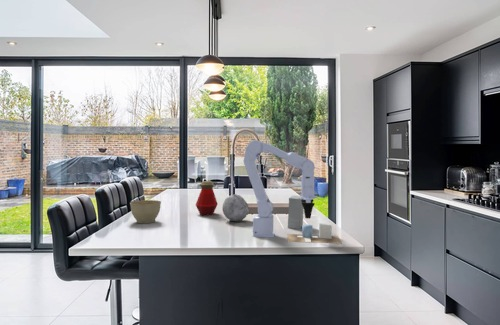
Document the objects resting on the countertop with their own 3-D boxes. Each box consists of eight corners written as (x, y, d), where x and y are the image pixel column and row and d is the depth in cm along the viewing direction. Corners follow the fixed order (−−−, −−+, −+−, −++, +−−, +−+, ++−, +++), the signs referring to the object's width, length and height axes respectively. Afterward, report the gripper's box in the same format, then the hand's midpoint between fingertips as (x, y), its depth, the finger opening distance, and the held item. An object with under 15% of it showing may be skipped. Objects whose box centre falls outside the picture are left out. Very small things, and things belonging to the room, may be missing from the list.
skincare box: (290, 225, 187) (291, 195, 187) (304, 226, 185) (304, 195, 184) (287, 228, 179) (287, 197, 179) (301, 229, 177) (301, 198, 176)
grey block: (319, 238, 158) (320, 224, 158) (319, 235, 163) (319, 222, 163) (331, 238, 158) (331, 225, 158) (330, 236, 163) (330, 222, 163)
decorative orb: (253, 222, 194) (253, 195, 194) (228, 224, 188) (228, 196, 188) (241, 217, 208) (241, 192, 207) (218, 219, 201) (218, 193, 201)
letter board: (286, 242, 153) (286, 241, 153) (287, 234, 167) (287, 233, 167) (342, 244, 150) (342, 243, 150) (337, 236, 164) (337, 235, 164)
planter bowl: (157, 218, 206) (157, 199, 205) (163, 223, 191) (163, 203, 191) (128, 220, 199) (128, 200, 198) (132, 226, 184) (132, 205, 184)
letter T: (297, 241, 153) (297, 241, 153) (297, 235, 163) (297, 235, 163) (318, 242, 152) (318, 242, 152) (317, 236, 162) (317, 236, 162)
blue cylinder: (302, 237, 159) (302, 226, 159) (301, 235, 164) (301, 224, 164) (312, 238, 159) (312, 226, 159) (311, 235, 164) (311, 224, 163)
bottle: (194, 212, 225) (194, 180, 225) (215, 211, 229) (215, 180, 228) (196, 216, 210) (196, 182, 209) (219, 215, 213) (219, 182, 213)
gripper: (317, 188, 153) (317, 220, 154) (315, 185, 167) (315, 214, 168) (301, 188, 154) (301, 219, 154) (300, 184, 168) (300, 213, 169)
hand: (307, 216), depth 161 cm, fingers open, 7 cm apart
